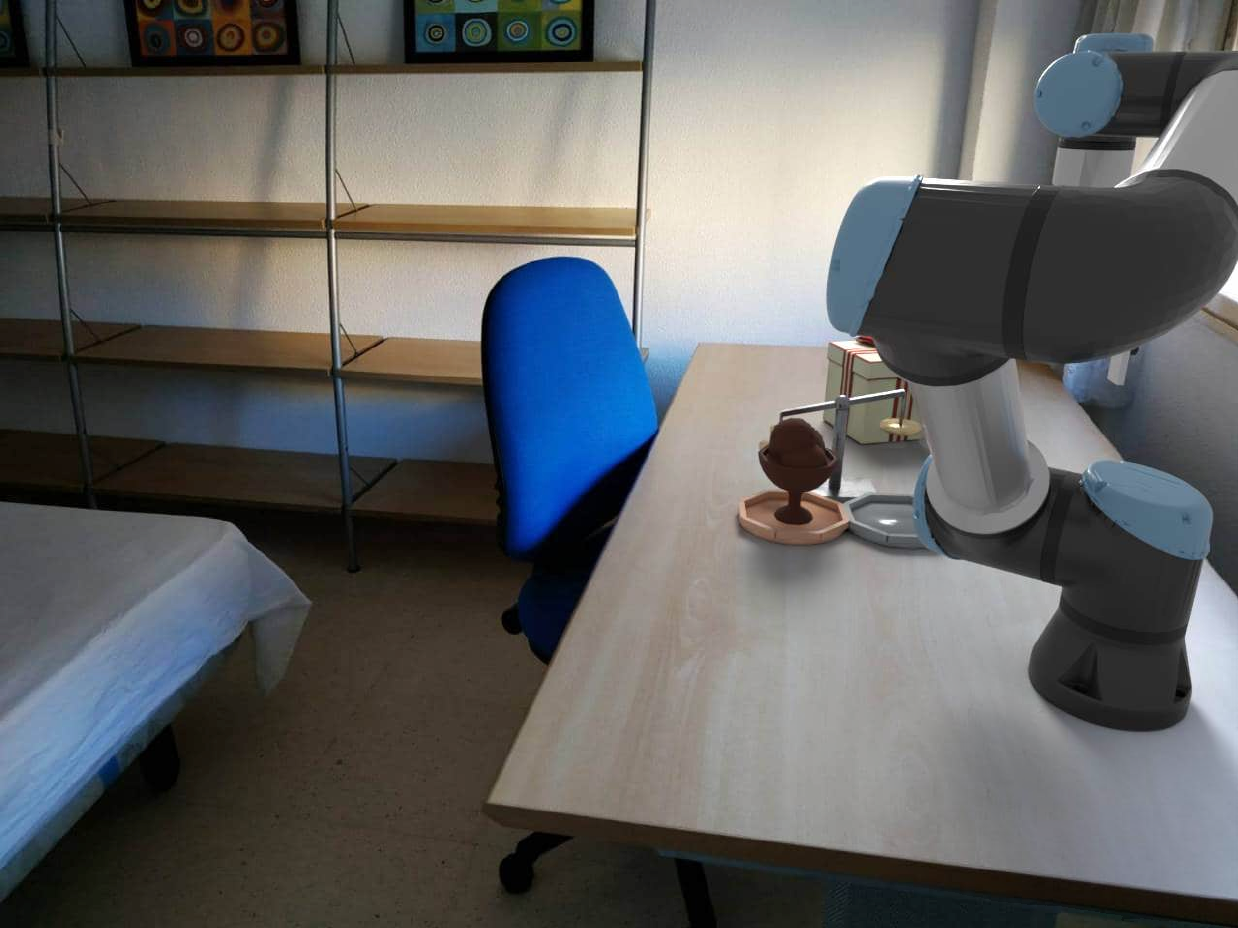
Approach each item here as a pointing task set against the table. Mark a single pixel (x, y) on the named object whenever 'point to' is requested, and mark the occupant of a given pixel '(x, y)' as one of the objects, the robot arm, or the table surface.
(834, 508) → the terracotta dish
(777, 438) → the ice cream bowl
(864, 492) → the balance
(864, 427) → the gift box
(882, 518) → the slate dish
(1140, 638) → the robot arm
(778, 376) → the table surface
